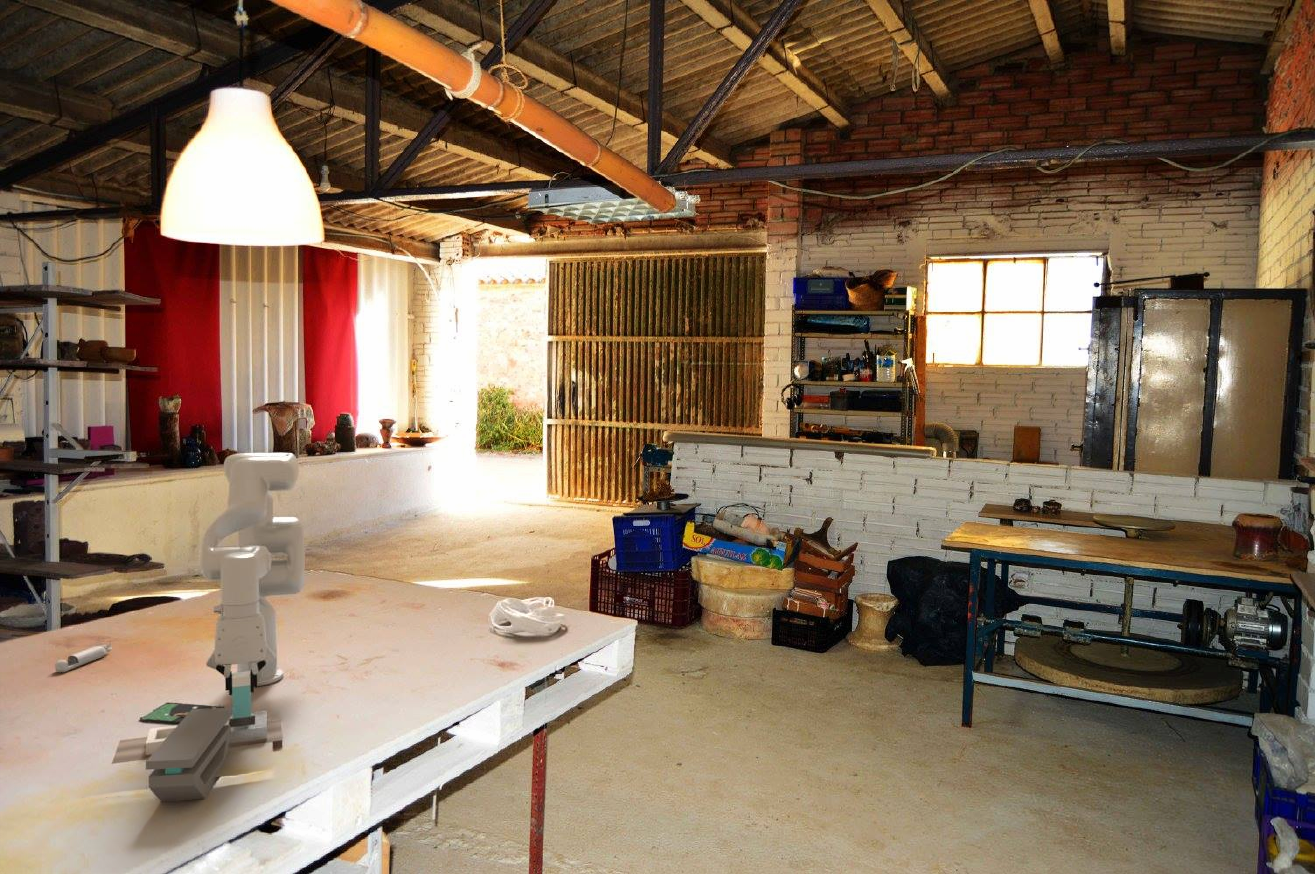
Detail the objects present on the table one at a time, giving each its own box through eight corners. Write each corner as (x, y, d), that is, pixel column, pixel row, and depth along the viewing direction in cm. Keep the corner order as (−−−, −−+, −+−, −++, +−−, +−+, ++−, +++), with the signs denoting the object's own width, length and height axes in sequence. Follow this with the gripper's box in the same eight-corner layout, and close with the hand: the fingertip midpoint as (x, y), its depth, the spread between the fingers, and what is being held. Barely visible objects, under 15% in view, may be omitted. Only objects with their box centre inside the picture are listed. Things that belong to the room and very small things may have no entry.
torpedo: (65, 675, 238) (65, 651, 237) (50, 673, 238) (49, 649, 238) (117, 654, 255) (117, 631, 255) (102, 652, 256) (102, 630, 256)
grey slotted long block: (193, 816, 166) (192, 759, 165) (147, 819, 165) (145, 761, 164) (232, 757, 191) (232, 707, 190) (193, 759, 189) (191, 709, 188)
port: (217, 729, 201) (217, 716, 201) (266, 723, 205) (266, 710, 205) (216, 747, 192) (215, 733, 192) (267, 740, 196) (267, 726, 196)
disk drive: (225, 717, 213) (167, 712, 215) (225, 706, 213) (167, 701, 215) (198, 735, 203) (137, 729, 205) (198, 723, 203) (137, 717, 204)
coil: (551, 643, 275) (553, 613, 274) (476, 635, 279) (477, 605, 278) (573, 622, 299) (574, 594, 299) (503, 615, 303) (504, 587, 303)
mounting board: (120, 747, 194) (119, 740, 194) (281, 726, 207) (281, 719, 207) (111, 770, 183) (111, 763, 183) (282, 746, 196) (282, 739, 196)
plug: (233, 712, 199) (232, 672, 198) (250, 710, 200) (250, 670, 200) (232, 718, 196) (232, 678, 195) (250, 716, 197) (250, 676, 196)
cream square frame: (150, 739, 195) (150, 728, 195) (192, 734, 198) (192, 723, 198) (146, 754, 187) (145, 743, 187) (190, 748, 191) (190, 737, 191)
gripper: (196, 617, 190) (198, 702, 191) (282, 610, 196) (283, 692, 198) (198, 608, 196) (200, 690, 198) (281, 602, 203) (282, 681, 204)
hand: (241, 691), depth 198 cm, fingers closed on plug, 3 cm apart
